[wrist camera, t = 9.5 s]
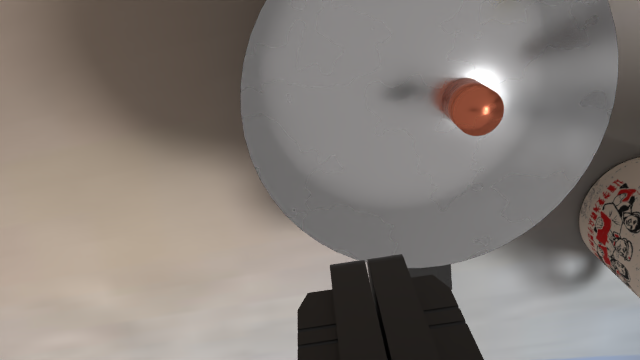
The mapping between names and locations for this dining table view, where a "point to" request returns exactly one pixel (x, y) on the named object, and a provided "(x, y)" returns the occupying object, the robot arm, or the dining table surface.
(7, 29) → the dining table surface
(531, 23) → the lid
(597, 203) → the teacup with lid
